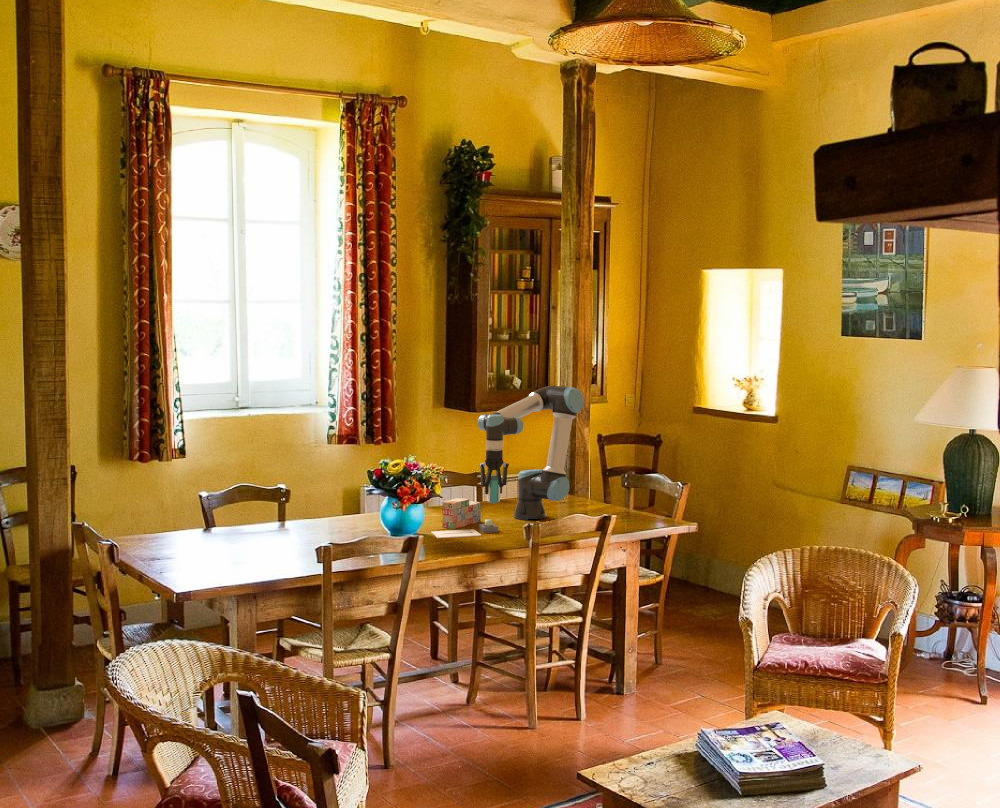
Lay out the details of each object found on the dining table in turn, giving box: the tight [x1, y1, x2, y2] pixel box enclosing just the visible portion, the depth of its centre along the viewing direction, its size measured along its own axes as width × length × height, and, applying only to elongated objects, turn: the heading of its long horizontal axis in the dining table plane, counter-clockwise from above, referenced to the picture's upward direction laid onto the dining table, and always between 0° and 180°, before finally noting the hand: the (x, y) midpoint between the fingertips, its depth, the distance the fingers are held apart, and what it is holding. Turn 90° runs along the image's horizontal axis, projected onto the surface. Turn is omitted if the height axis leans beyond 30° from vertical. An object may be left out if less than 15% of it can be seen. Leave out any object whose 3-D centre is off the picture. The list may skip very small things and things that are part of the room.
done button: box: [484, 518, 493, 527], centre depth 503 cm, size 3×3×4 cm
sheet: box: [430, 528, 482, 539], centre depth 496 cm, size 20×12×1 cm, turn 107°
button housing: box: [478, 523, 499, 534], centre depth 503 cm, size 7×7×2 cm
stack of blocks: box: [442, 497, 482, 530], centre depth 516 cm, size 21×6×12 cm, turn 144°
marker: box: [488, 474, 499, 504], centre depth 496 cm, size 4×4×12 cm
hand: (493, 501), depth 496 cm, fingers closed on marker, 4 cm apart
